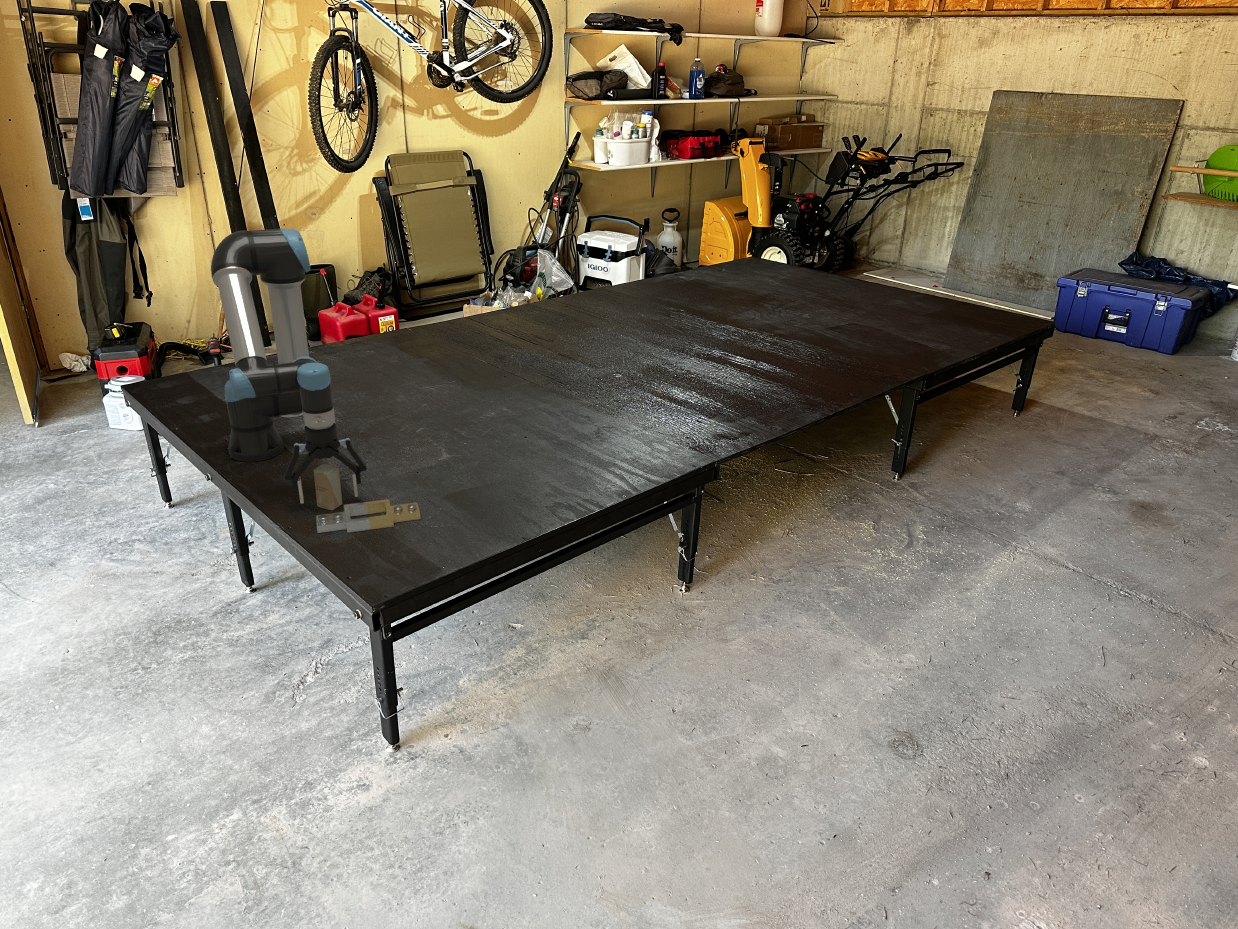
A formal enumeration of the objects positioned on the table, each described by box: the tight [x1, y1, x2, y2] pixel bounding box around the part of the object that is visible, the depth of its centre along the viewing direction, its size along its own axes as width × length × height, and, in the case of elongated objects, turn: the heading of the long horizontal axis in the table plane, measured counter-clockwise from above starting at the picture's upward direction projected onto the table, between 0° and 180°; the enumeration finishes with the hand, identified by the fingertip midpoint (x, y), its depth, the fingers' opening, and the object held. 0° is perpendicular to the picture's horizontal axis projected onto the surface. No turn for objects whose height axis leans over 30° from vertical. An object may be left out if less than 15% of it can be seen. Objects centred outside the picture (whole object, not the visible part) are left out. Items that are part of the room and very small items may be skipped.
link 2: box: [366, 499, 422, 530], centre depth 217 cm, size 13×9×3 cm
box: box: [313, 463, 343, 511], centre depth 219 cm, size 5×4×11 cm
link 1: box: [315, 501, 372, 534], centre depth 213 cm, size 13×9×3 cm
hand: (329, 497), depth 221 cm, fingers open, 13 cm apart
